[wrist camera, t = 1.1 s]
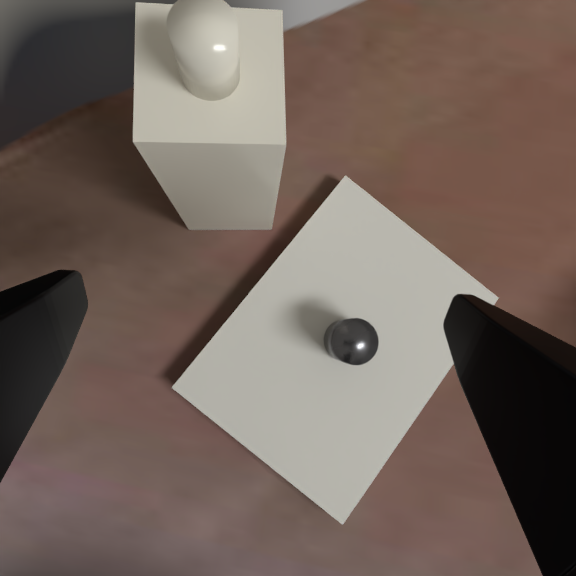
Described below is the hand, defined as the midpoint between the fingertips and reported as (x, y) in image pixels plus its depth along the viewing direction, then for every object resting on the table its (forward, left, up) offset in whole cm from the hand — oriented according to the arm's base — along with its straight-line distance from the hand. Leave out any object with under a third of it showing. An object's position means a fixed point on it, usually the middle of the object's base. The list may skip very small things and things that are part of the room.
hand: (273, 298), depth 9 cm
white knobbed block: (+5, +6, -13) cm, 16 cm away
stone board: (+2, -5, -13) cm, 14 cm away
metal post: (+2, -5, -12) cm, 13 cm away
